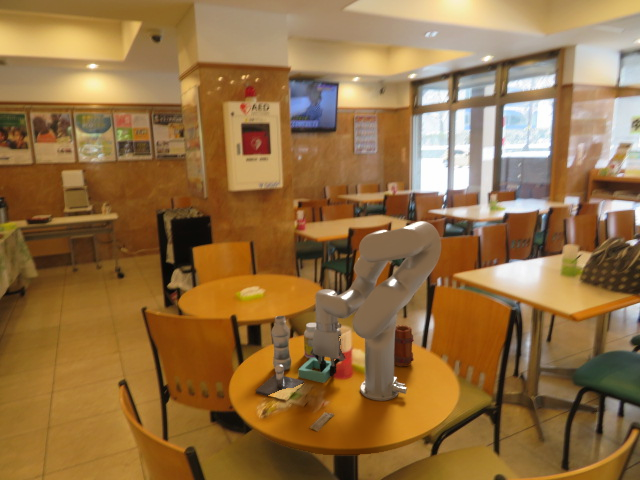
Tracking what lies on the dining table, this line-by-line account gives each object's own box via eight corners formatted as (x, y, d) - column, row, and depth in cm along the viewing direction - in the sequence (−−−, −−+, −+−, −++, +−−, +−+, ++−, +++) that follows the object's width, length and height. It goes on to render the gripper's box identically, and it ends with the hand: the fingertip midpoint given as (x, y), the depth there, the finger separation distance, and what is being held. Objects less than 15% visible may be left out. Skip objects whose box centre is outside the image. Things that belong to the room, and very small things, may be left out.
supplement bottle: (306, 351, 175) (305, 321, 173) (322, 352, 174) (321, 321, 172) (303, 359, 169) (302, 327, 166) (320, 359, 168) (319, 328, 165)
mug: (418, 363, 163) (419, 325, 160) (407, 371, 157) (408, 332, 154) (385, 352, 173) (385, 316, 170) (373, 359, 167) (373, 322, 164)
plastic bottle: (290, 372, 158) (288, 320, 154) (272, 373, 159) (269, 321, 155) (292, 364, 165) (290, 314, 161) (274, 364, 165) (271, 314, 161)
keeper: (304, 383, 151) (303, 360, 149) (286, 401, 140) (285, 376, 139) (275, 376, 156) (273, 354, 154) (255, 393, 146) (254, 369, 144)
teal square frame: (335, 370, 160) (335, 362, 159) (324, 383, 151) (323, 375, 150) (311, 364, 164) (311, 357, 163) (298, 377, 155) (298, 369, 155)
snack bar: (317, 431, 124) (309, 425, 126) (316, 435, 125) (308, 429, 126) (334, 414, 132) (326, 408, 134) (333, 417, 133) (325, 411, 134)
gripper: (352, 324, 151) (353, 373, 155) (311, 317, 159) (312, 364, 162) (344, 332, 145) (345, 383, 149) (301, 325, 152) (302, 374, 156)
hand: (328, 373), depth 155 cm, fingers open, 3 cm apart
